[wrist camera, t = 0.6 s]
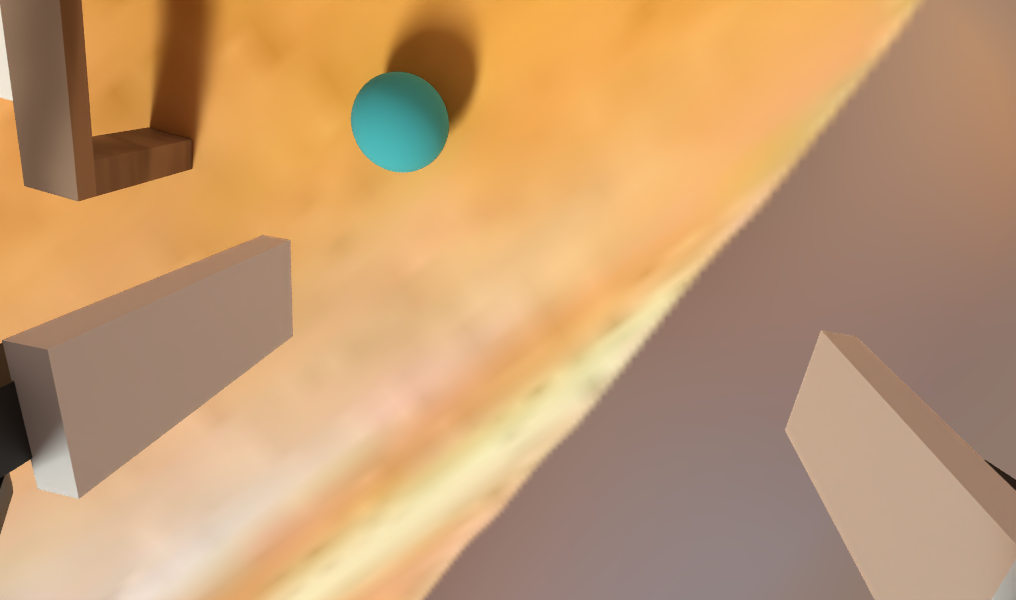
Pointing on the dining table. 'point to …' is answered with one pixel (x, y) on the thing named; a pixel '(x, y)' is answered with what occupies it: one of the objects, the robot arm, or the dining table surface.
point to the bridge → (72, 110)
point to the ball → (400, 121)
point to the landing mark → (4, 67)
